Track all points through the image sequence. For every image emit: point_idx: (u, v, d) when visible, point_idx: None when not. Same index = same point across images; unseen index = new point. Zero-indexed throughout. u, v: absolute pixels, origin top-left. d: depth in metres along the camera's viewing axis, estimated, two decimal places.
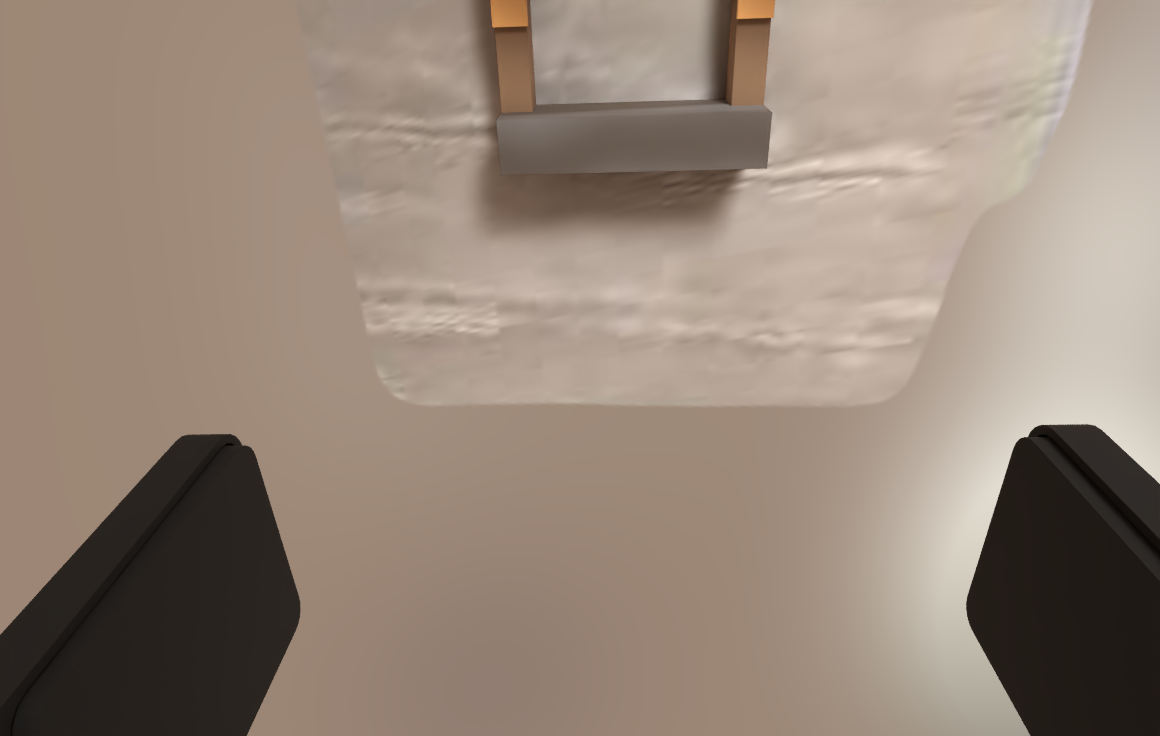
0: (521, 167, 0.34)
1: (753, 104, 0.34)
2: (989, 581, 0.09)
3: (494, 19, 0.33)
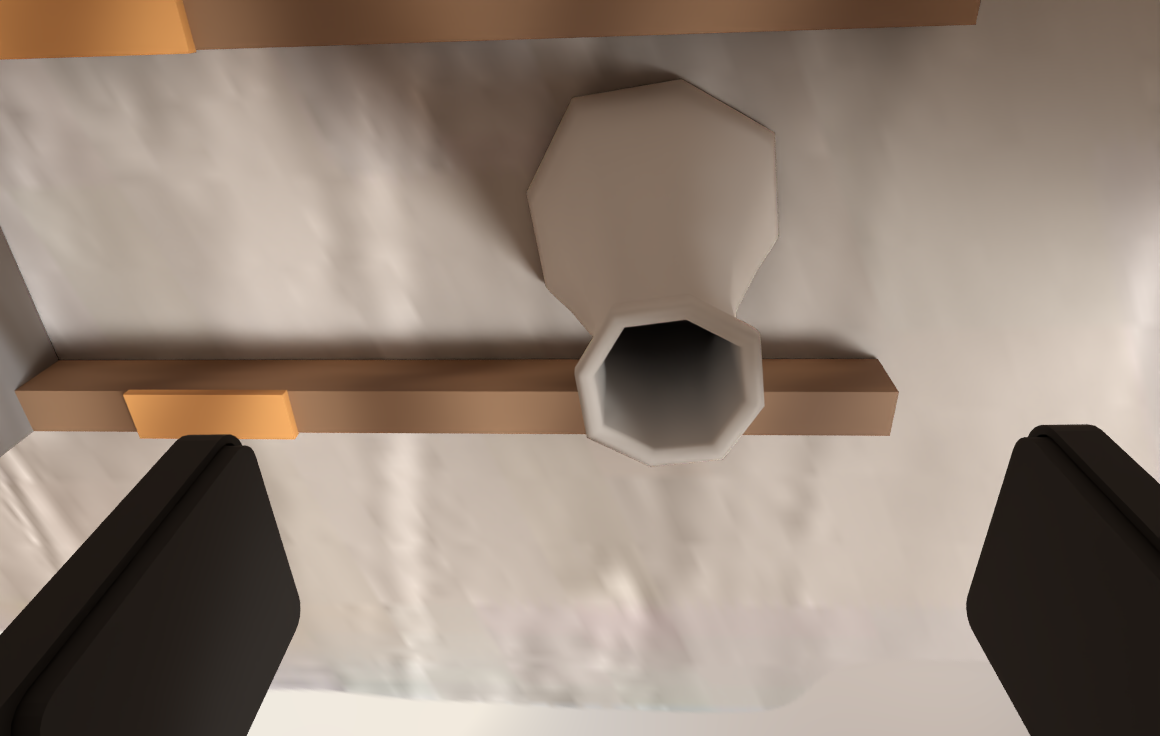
0: None
1: (28, 418, 0.23)
2: (988, 581, 0.09)
3: None
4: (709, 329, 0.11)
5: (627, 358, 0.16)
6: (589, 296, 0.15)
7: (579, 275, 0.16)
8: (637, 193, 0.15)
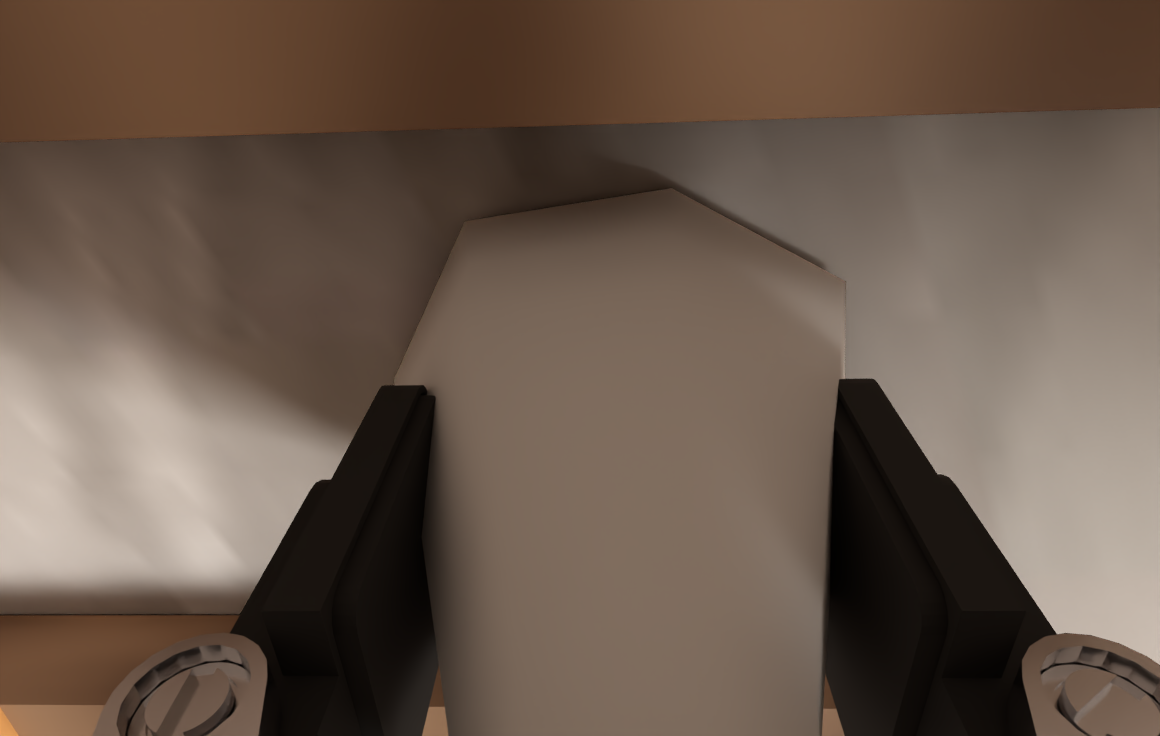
0: None
1: None
2: None
3: None
4: None
5: None
6: None
7: (444, 701, 0.07)
8: (578, 511, 0.07)
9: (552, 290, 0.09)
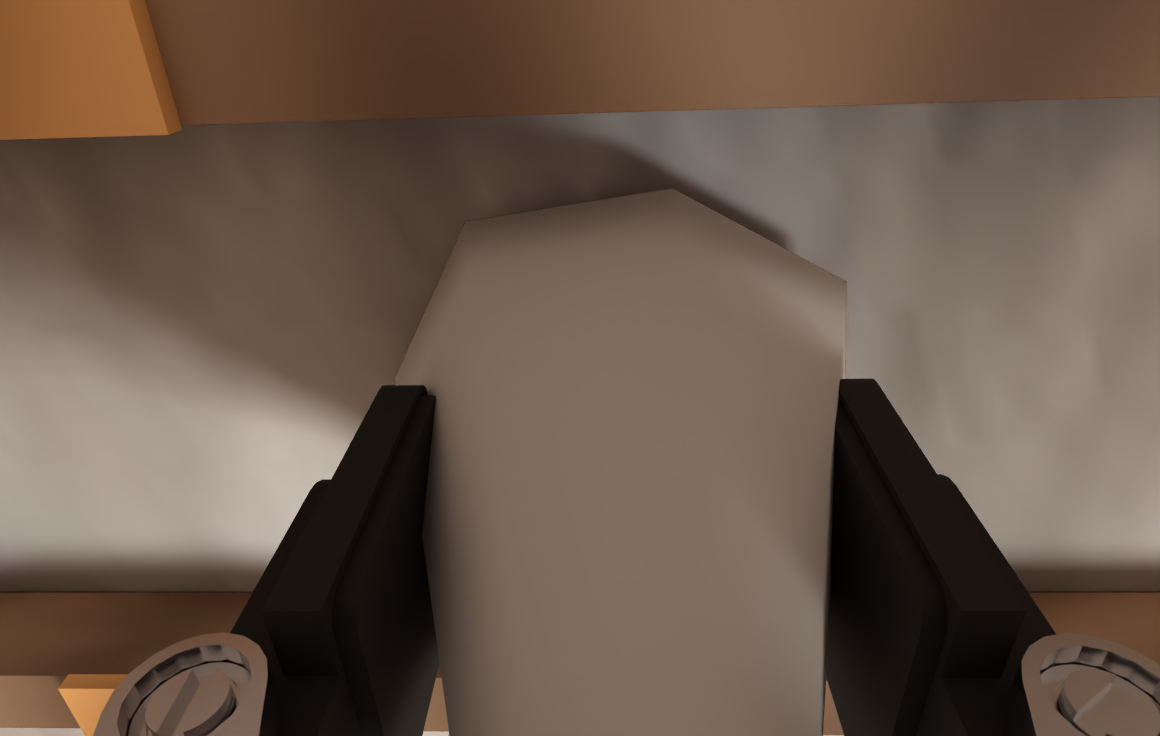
0: None
1: None
2: None
3: None
4: None
5: None
6: None
7: (445, 701, 0.07)
8: (580, 512, 0.07)
9: (553, 290, 0.09)
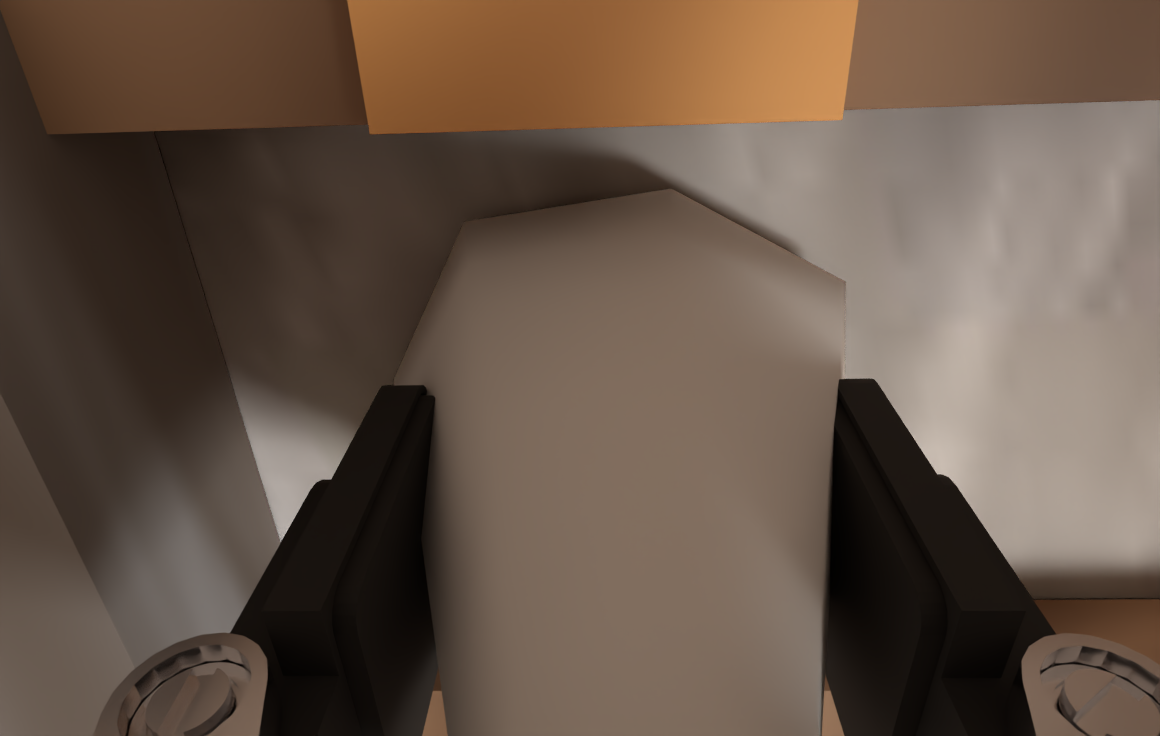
0: None
1: None
2: None
3: None
4: None
5: None
6: None
7: (443, 702, 0.07)
8: (578, 513, 0.07)
9: (552, 291, 0.09)
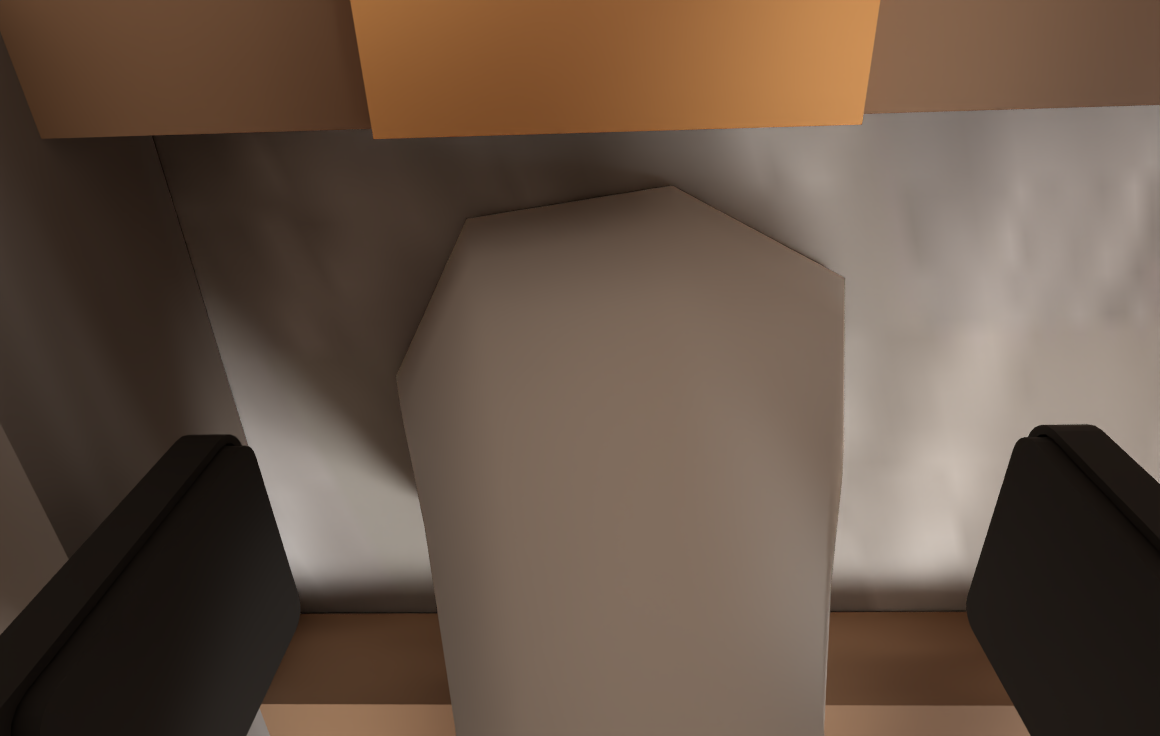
0: None
1: None
2: (990, 582, 0.09)
3: None
4: None
5: None
6: None
7: (450, 693, 0.07)
8: (583, 504, 0.07)
9: (554, 286, 0.09)
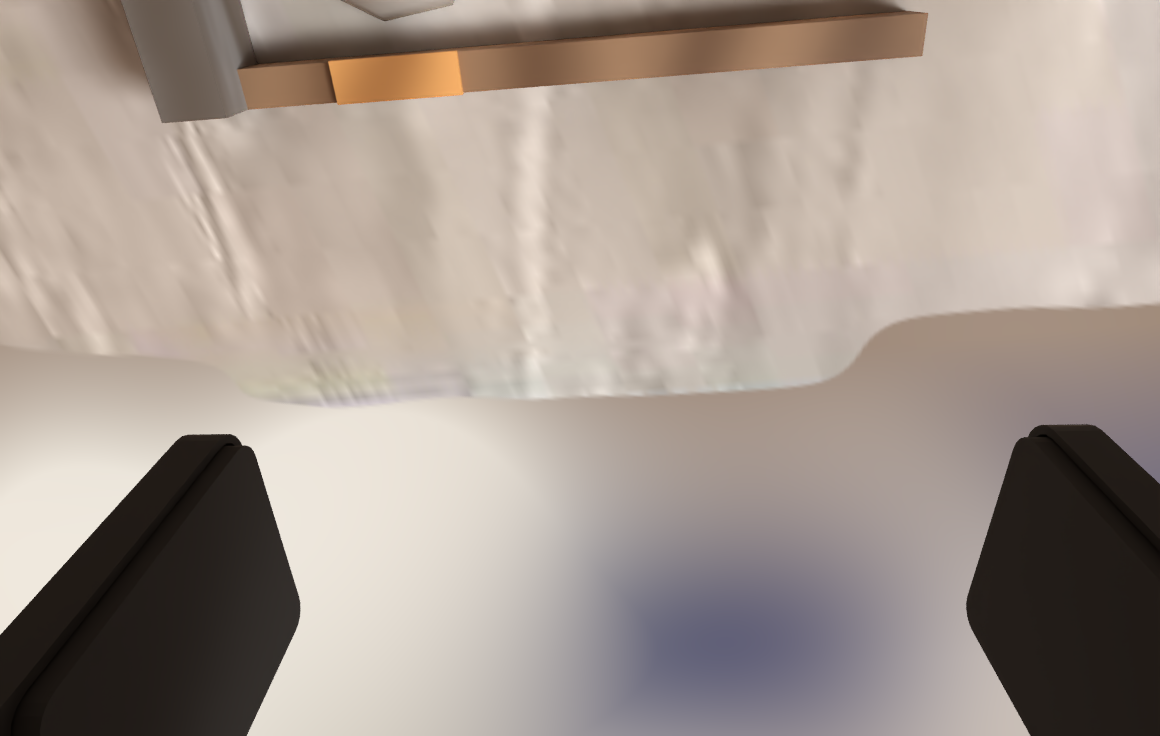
0: None
1: (245, 97, 0.29)
2: (989, 582, 0.09)
3: None
4: None
5: None
6: None
7: None
8: None
9: None
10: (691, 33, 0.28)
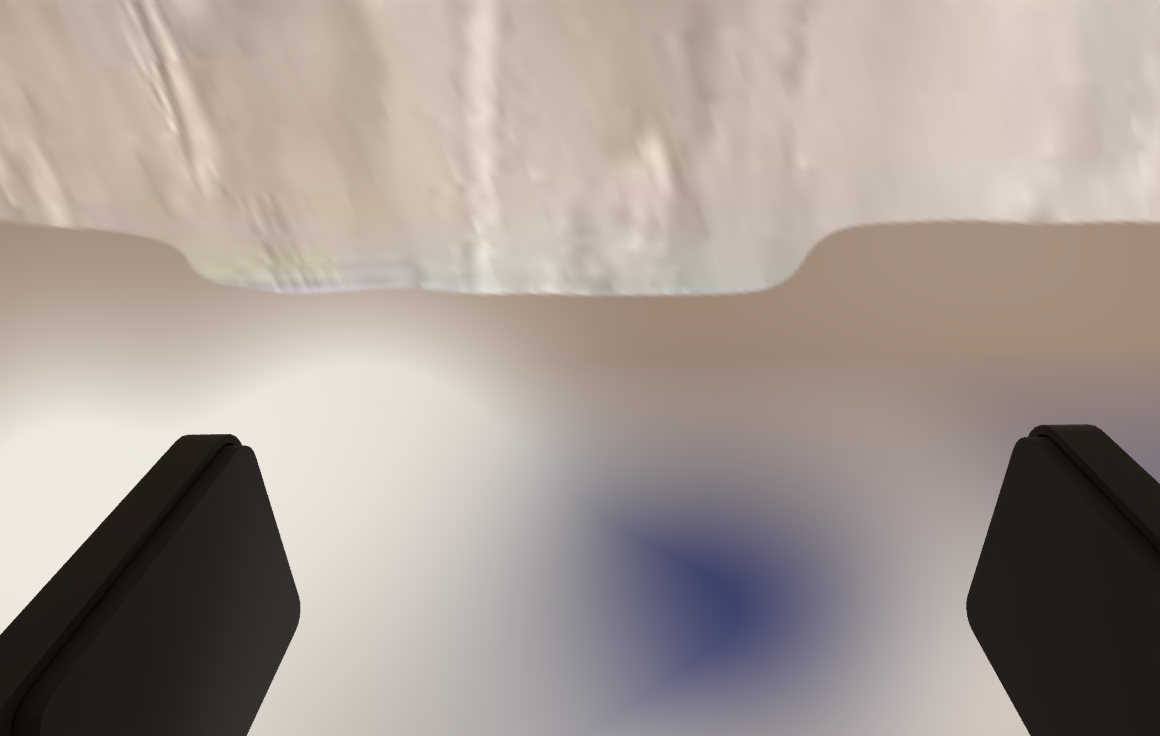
0: None
1: None
2: (988, 581, 0.09)
3: None
4: None
5: None
6: None
7: None
8: None
9: None
10: None
